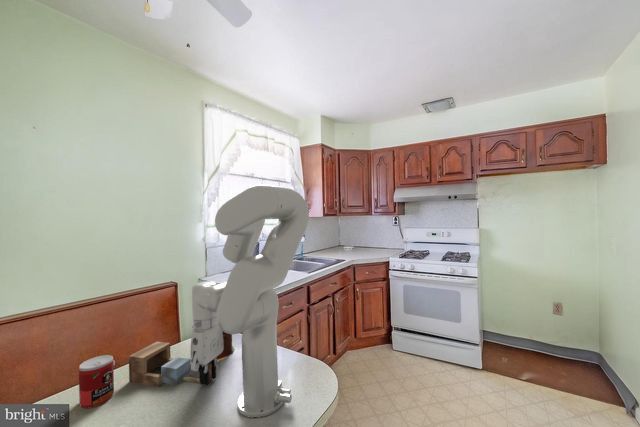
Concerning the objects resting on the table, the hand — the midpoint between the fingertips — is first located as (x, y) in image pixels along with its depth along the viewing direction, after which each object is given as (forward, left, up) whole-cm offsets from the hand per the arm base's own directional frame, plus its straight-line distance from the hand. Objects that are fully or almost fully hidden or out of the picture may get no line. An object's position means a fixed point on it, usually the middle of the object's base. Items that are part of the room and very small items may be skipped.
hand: (208, 380), depth 83 cm
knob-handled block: (+7, 0, -1) cm, 7 cm away
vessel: (+10, -17, -1) cm, 20 cm away
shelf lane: (+20, 0, -1) cm, 20 cm away
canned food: (+27, +14, -1) cm, 31 cm away
